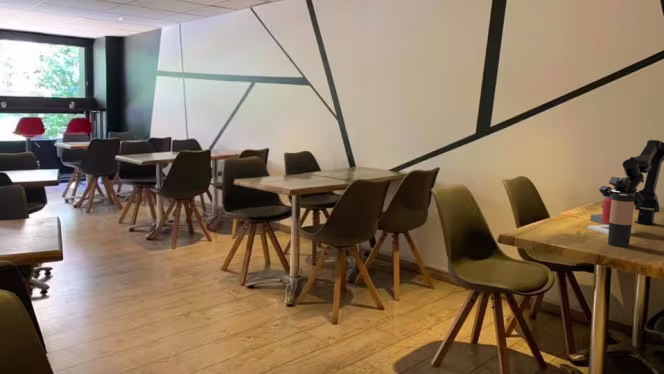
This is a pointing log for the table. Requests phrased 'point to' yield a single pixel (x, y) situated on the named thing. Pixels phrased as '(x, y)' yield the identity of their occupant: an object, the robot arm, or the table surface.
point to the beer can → (606, 210)
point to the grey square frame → (596, 218)
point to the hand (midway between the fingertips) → (608, 209)
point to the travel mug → (621, 219)
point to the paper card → (602, 228)
